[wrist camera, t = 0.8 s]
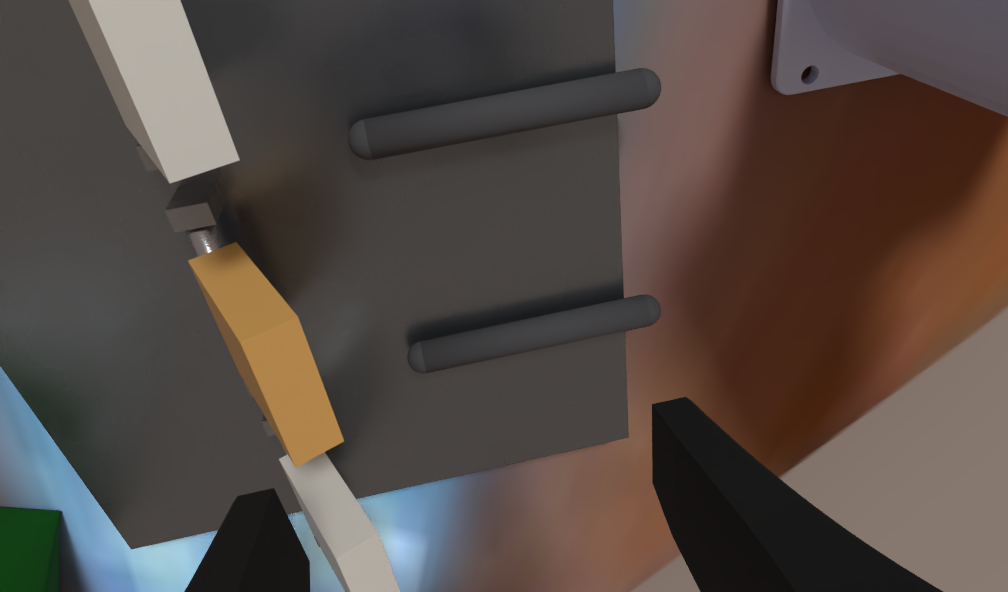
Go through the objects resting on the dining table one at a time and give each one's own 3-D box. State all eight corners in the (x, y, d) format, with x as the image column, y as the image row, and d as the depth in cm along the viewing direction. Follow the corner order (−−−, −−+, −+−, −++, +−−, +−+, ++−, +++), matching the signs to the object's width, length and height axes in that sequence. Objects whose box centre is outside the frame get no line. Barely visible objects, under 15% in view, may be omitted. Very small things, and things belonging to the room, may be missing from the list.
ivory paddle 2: (315, 438, 21) (378, 532, 18) (346, 514, 23) (407, 610, 20) (278, 458, 20) (335, 559, 17) (312, 533, 22) (369, 635, 19)
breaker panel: (584, -219, 15) (625, -232, 13) (616, 419, 26) (641, 474, 24) (-260, -90, 14) (-388, -79, 12) (148, 523, 25) (126, 592, 23)
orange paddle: (236, 241, 17) (297, 316, 14) (281, 353, 19) (344, 441, 16) (187, 260, 16) (240, 342, 13) (239, 372, 18) (295, 467, 15)
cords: (652, 60, 17) (667, 70, 17) (654, 311, 22) (665, 329, 21) (344, 117, 17) (343, 130, 16) (410, 363, 21) (411, 383, 20)
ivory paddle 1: (108, -75, 13) (153, -72, 10) (182, 108, 15) (239, 160, 12) (39, -63, 12) (63, -56, 9) (125, 125, 14) (169, 184, 11)
